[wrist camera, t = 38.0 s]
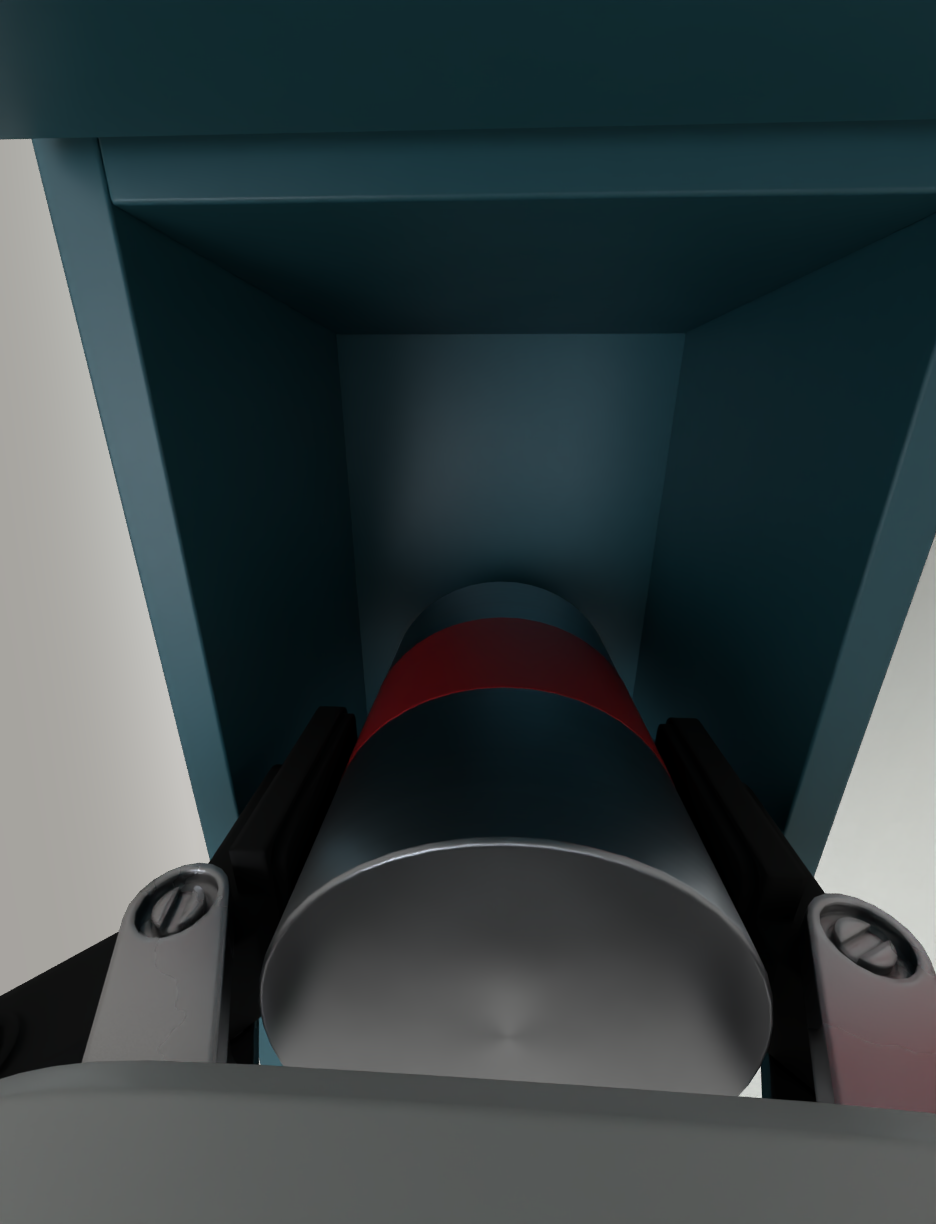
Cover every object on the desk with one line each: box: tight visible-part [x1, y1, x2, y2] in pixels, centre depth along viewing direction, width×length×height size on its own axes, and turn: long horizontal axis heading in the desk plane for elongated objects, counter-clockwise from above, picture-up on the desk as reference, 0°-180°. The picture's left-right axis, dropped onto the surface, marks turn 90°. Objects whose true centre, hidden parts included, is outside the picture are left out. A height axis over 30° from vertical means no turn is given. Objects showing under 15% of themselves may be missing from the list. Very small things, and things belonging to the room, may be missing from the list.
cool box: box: [32, 119, 936, 1066], centre depth 13 cm, size 19×12×10 cm, turn 0°
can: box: [259, 582, 774, 1096], centre depth 10 cm, size 6×6×9 cm
